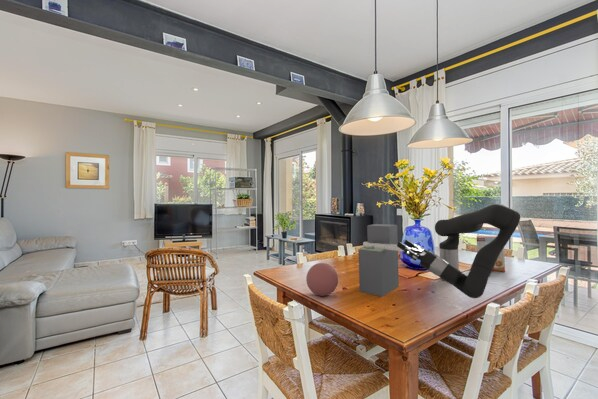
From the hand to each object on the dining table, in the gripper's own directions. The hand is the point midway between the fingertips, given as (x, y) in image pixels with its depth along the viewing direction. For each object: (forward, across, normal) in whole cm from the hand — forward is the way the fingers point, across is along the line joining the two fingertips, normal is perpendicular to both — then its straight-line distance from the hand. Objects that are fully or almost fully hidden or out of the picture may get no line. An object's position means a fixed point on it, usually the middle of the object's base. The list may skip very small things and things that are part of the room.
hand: (401, 242), depth 131 cm
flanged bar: (+6, 0, +8) cm, 10 cm away
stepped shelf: (-1, -5, +29) cm, 29 cm away
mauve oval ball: (+16, +18, +39) cm, 46 cm away
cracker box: (-34, -79, +10) cm, 87 cm away
